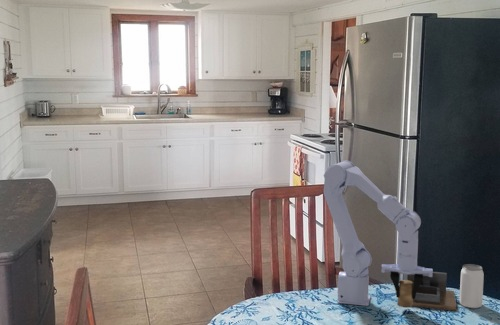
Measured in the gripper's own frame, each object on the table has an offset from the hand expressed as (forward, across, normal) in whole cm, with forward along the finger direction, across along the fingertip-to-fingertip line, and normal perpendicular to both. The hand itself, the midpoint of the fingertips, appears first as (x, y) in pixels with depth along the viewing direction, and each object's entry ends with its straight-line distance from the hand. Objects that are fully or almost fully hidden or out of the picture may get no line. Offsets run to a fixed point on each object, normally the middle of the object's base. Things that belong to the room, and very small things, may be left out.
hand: (405, 297), depth 165 cm
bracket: (+4, +6, +11) cm, 13 cm away
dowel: (+2, 0, 0) cm, 2 cm away
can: (+4, +19, +10) cm, 22 cm away
